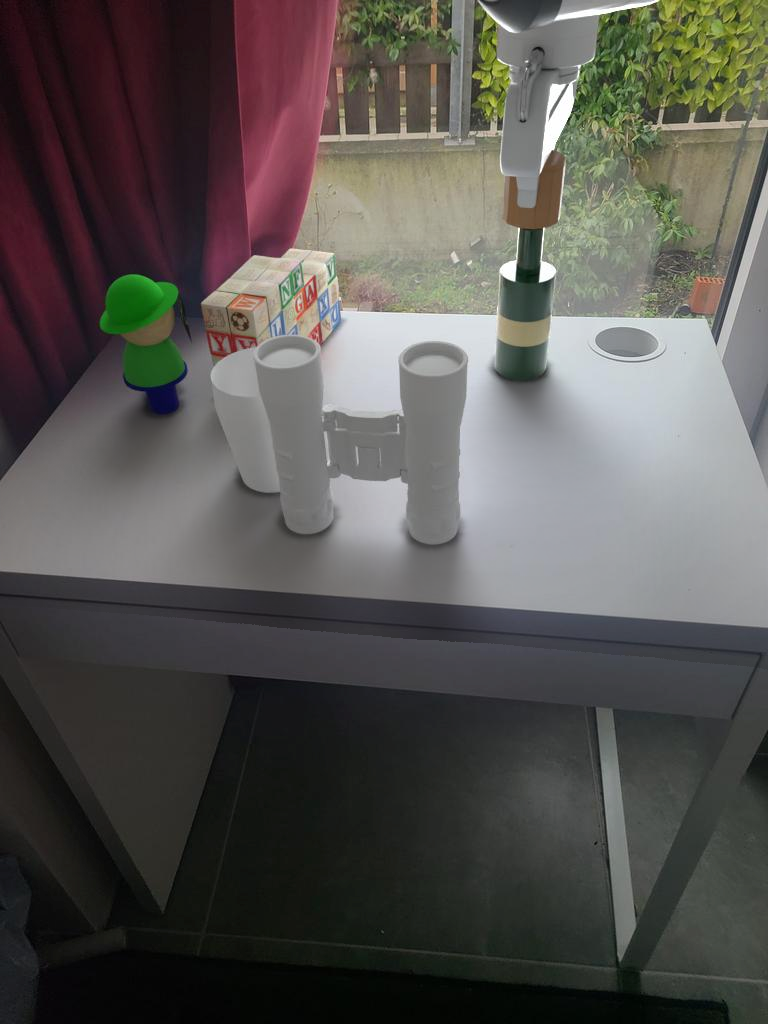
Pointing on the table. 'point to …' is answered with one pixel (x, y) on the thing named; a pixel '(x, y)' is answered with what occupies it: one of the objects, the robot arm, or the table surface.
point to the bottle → (524, 310)
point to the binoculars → (366, 434)
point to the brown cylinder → (548, 197)
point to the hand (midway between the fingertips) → (533, 192)
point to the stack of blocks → (273, 302)
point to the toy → (147, 337)
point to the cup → (245, 420)
